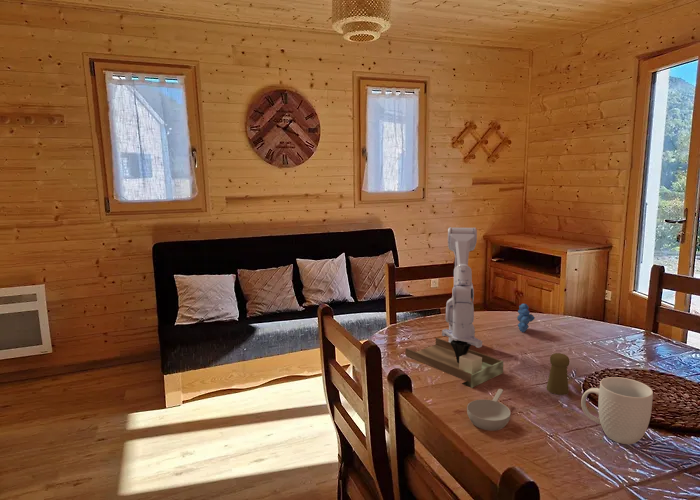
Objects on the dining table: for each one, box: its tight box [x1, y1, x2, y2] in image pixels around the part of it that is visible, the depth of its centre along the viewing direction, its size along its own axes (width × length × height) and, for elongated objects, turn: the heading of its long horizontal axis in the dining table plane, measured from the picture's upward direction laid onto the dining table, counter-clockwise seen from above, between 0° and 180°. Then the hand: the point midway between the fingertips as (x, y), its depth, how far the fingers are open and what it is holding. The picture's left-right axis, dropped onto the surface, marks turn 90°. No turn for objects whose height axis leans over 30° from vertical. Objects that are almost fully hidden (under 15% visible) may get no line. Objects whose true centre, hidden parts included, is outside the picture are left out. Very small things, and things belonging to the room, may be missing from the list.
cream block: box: [459, 353, 482, 374], centre depth 149 cm, size 5×5×4 cm
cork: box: [546, 352, 570, 396], centre depth 137 cm, size 6×6×11 cm
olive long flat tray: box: [405, 337, 504, 389], centre depth 155 cm, size 16×28×4 cm, turn 39°
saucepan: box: [466, 388, 511, 432], centre depth 124 cm, size 11×18×4 cm, turn 148°
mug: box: [580, 376, 654, 445], centre depth 114 cm, size 15×11×13 cm
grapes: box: [516, 303, 536, 333], centre depth 186 cm, size 12×7×12 cm, turn 169°
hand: (460, 362), depth 153 cm, fingers closed
